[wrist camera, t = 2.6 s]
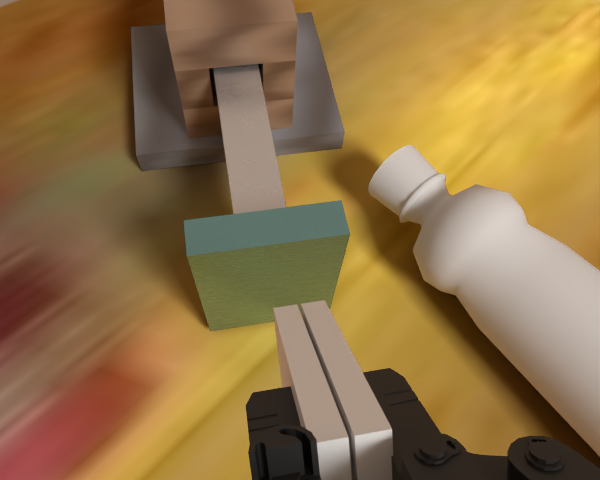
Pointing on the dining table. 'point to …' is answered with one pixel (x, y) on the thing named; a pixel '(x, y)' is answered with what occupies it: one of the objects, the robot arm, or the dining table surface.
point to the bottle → (506, 282)
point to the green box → (260, 223)
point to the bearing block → (223, 53)
